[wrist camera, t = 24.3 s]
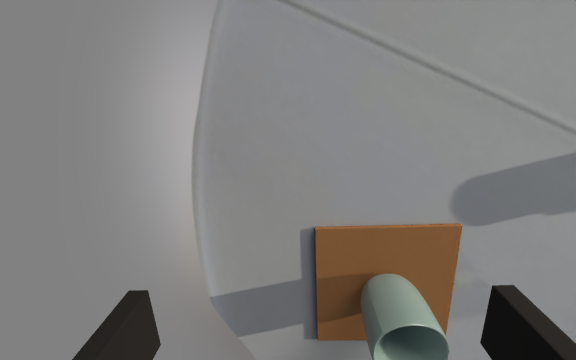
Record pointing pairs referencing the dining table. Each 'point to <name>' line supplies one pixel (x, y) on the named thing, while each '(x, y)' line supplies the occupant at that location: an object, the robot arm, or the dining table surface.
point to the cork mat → (381, 270)
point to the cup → (400, 321)
